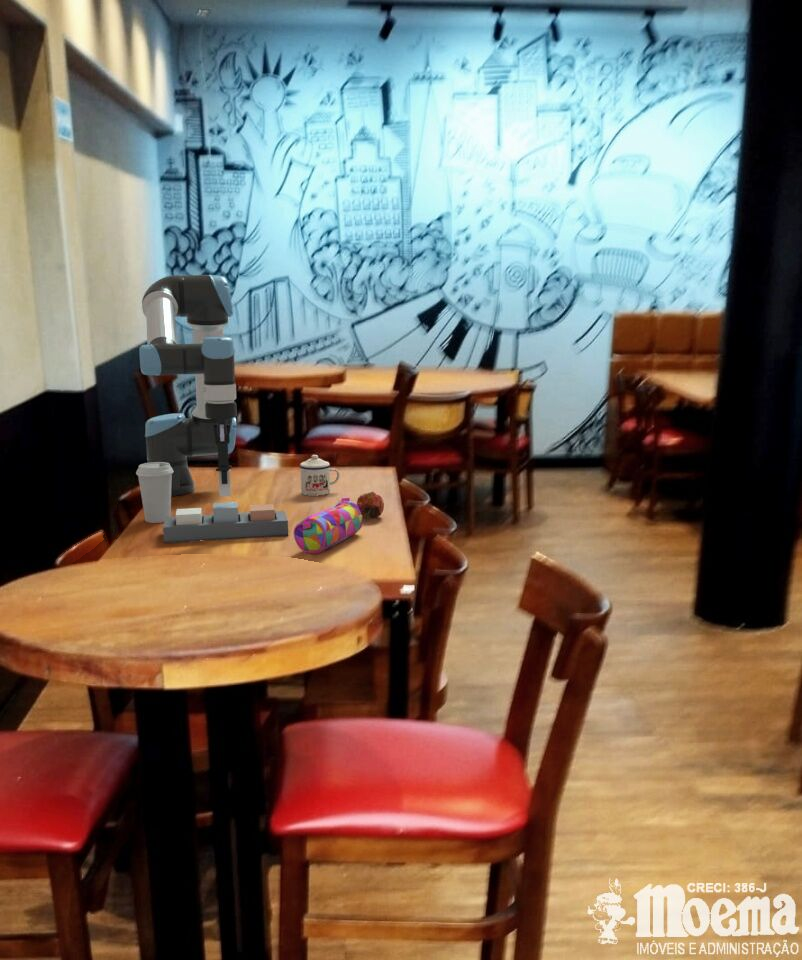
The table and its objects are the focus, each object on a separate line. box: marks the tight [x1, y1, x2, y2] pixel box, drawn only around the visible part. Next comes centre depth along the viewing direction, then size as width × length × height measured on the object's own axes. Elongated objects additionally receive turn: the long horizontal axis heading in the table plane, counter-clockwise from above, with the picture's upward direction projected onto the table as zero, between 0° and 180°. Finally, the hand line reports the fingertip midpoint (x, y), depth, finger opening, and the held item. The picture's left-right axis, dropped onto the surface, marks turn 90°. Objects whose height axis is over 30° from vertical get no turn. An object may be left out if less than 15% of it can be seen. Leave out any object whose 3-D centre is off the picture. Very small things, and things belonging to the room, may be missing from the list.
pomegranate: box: [356, 491, 385, 522], centre depth 230 cm, size 7×7×10 cm
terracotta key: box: [249, 503, 276, 521], centre depth 217 cm, size 6×6×4 cm
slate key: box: [212, 501, 239, 523], centre depth 215 cm, size 6×6×4 cm
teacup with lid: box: [299, 454, 341, 497], centre depth 258 cm, size 12×9×12 cm
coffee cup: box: [135, 462, 173, 524], centre depth 228 cm, size 10×10×15 cm
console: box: [162, 510, 289, 544], centre depth 216 cm, size 10×30×4 cm, turn 101°
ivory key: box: [175, 507, 203, 525], centre depth 213 cm, size 6×6×4 cm
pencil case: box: [293, 497, 363, 554], centre depth 207 cm, size 22×9×9 cm, turn 159°
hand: (225, 495), depth 214 cm, fingers closed
